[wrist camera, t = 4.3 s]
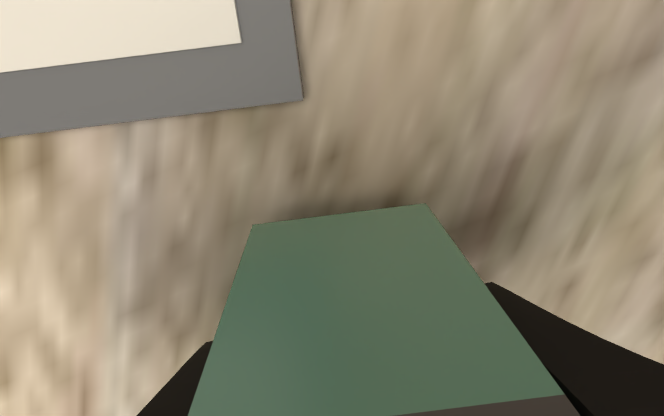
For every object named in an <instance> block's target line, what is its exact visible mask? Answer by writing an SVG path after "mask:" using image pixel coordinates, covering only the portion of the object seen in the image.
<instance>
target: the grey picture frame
mask: <svg viewBox="0 0 664 416" xmlns="http://www.w3.org/2000/svg"><path fill="white" fill-rule="evenodd" d="M303 98H304V95H303V88H302V80H301V73H300V65H299V58H298V50H297V43H296V35H295V27H294V20H293V12H292V5H291V0H0V138H2V137H11V136H19V135H27V134H35V133H43V132H51V131H59V130H67V129H75V128H83V127H91V126H100V125H108V124H116V123H124V122H132V121H140V120H148V119H156V118H164V117H172V116H180V115H188V114H197V113H205V112H213V111H221V110H229V109H237V108H245V107H253V106H261V105H269V104H277V103H286V102H294V101H302V100H303Z"/></svg>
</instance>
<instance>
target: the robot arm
mask: <svg viewBox="0 0 664 416" xmlns="http://www.w3.org/2000/svg"><path fill="white" fill-rule="evenodd" d="M485 285H486V287H487V288H488V290H489V291H490V292H491V294H492V295H493V296H494V298H495V299H496V301H497V302H498V303H499V305H500V306H501V307H502V309H503V310H504V312H505V313H506V314H507V316H508V317H509V318H510V320H511V321H512V323H513V324H514V325H515V327H516V328H517V329H518V331H519V332H520V334H521V335H522V336H523V338H524V339H525V340H526V342H527V343H528V345H529V346H530V347H531V349H532V350H533V351H534V353H535V354H536V355H537V357H538V358H539V360H540V361H541V362H542V364H543V365H544V366H545V368H546V369H547V371H548V372H549V373H550V375H551V376H552V377H553V379H554V380H555V382H556V383H557V384H558V386H559V387H560V388H561V390H562V391H563V393H564V394H565V395H566V397H567V398H568V399H569V401H570V402H571V404H572V405H573V406H574V408H575V409H576V410H577V412H578V413H579V415H580V416H664V365H663V364H661V363H658V362H656V361H653V360H651V359H648V358H646V357H643V356H641V355H639V354H637V353H634V352H632V351H630V350H627V349H625V348H623V347H621V346H618V345H616V344H614V343H611V342H609V341H607V340H605V339H602V338H600V337H598V336H596V335H594V334H592V333H590V332H588V331H585V330H583V329H581V328H579V327H577V326H575V325H573V324H571V323H569V322H567V321H565V320H563V319H561V318H559V317H557V316H555V315H553V314H552V313H550V312H548V311H546V310H544V309H542V308H540V307H538V306H536V305H535V304H533V303H531V302H529V301H527V300H525V299H523V298H522V297H520V296H518V295H516V294H514V293H512V292H510V291H509V290H507V289H505V288H503V287H501V286H499V285H497V284H495V283H493V282H490V283H485ZM212 343H213V341H210V342H206V343H205V344H204V345H203V346H202V347H201V348H200V349H199V350H198V351H197V352H196V353H195V354H194V355H193V356H192V357H191V358H190V359H189V360H188V361H187V362H186V363H185V364H184V365H183V366H182V367H181V369H180V370H179V371H178V372H177V373H176V374H175V375H174V376H173V377H172V378H171V379H170V381H169V382H168V383H167V384H166V385H165V386H164V387H163V388H162V389H161V390H160V391H159V392H158V393H157V394H156V396H155V397H154V398H153V399H152V400H151V401H150V402H149V403H148V404H147V405H146V406H145V407H144V408H143V409H142V411H141V412H140V413H139V414H138V415H137V416H188V414H189V411H190V408H191V405H192V402H193V399H194V396H195V393H196V390H197V387H198V384H199V381H200V378H201V375H202V372H203V370H204V367H205V364H206V361H207V358H208V355H209V352H210V349H211V346H212Z"/></svg>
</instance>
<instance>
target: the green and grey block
mask: <svg viewBox="0 0 664 416" xmlns="http://www.w3.org/2000/svg"><path fill="white" fill-rule="evenodd" d="M188 416H580V415H579V413H578V412H577V410H576V409H575V408H574V406H573V405H572V404H571V402H570V401H569V399H568V398H567V397H566V395H565V394H564V393H563V391H562V390H561V388H560V387H559V386H558V384H557V383H556V382H555V380H554V379H553V377H552V376H551V375H550V373H549V372H548V371H547V369H546V368H545V366H544V365H543V364H542V362H541V361H540V360H539V358H538V357H537V355H536V354H535V353H534V351H533V350H532V349H531V347H530V346H529V345H528V343H527V342H526V340H525V339H524V338H523V336H522V335H521V334H520V332H519V331H518V329H517V328H516V327H515V325H514V324H513V323H512V321H511V320H510V318H509V317H508V316H507V314H506V313H505V312H504V310H503V309H502V307H501V306H500V305H499V303H498V302H497V301H496V299H495V298H494V296H493V295H492V294H491V292H490V291H489V290H488V288H487V287H486V285H485V284H484V283H483V281H482V280H481V279H480V277H479V276H478V274H477V273H476V272H475V270H474V269H473V268H472V266H471V265H470V264H469V262H468V261H467V259H466V258H465V257H464V255H463V254H462V253H461V251H460V250H459V248H458V247H457V246H456V244H455V243H454V242H453V240H452V239H451V237H450V236H449V235H448V233H447V232H446V231H445V229H444V228H443V226H442V225H441V224H440V222H439V221H438V220H437V218H436V217H435V215H434V214H433V213H432V211H431V210H430V209H429V207H428V206H427V204H426V203H424V204H416V205H408V206H399V207H391V208H383V209H375V210H367V211H359V212H351V213H343V214H335V215H327V216H319V217H311V218H303V219H295V220H287V221H279V222H271V223H263V224H255V225H253V226H252V229H251V231H250V234H249V237H248V240H247V243H246V246H245V249H244V252H243V255H242V258H241V261H240V264H239V267H238V270H237V273H236V276H235V278H234V281H233V284H232V287H231V290H230V293H229V296H228V299H227V302H226V305H225V308H224V311H223V314H222V317H221V320H220V323H219V325H218V328H217V331H216V334H215V337H214V340H213V343H212V346H211V349H210V352H209V355H208V358H207V361H206V364H205V367H204V370H203V372H202V375H201V378H200V381H199V384H198V387H197V390H196V393H195V396H194V399H193V402H192V405H191V408H190V411H189V414H188Z"/></svg>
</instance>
